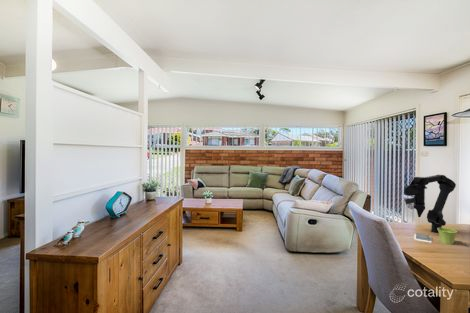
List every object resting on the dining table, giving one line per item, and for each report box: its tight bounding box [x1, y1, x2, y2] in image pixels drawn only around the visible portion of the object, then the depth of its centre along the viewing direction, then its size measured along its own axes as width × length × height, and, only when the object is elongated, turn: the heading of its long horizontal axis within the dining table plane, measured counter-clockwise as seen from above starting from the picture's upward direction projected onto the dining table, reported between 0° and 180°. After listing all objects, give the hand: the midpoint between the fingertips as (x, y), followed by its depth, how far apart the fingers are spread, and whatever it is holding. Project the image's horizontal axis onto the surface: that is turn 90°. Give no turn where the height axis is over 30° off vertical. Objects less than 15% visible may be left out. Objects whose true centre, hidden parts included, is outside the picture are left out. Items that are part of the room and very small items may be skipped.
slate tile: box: [415, 232, 430, 241], centre depth 160 cm, size 2×7×8 cm
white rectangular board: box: [413, 233, 432, 244], centre depth 160 cm, size 14×9×1 cm, turn 142°
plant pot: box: [437, 227, 458, 246], centre depth 152 cm, size 9×9×9 cm
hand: (419, 217), depth 170 cm, fingers closed
